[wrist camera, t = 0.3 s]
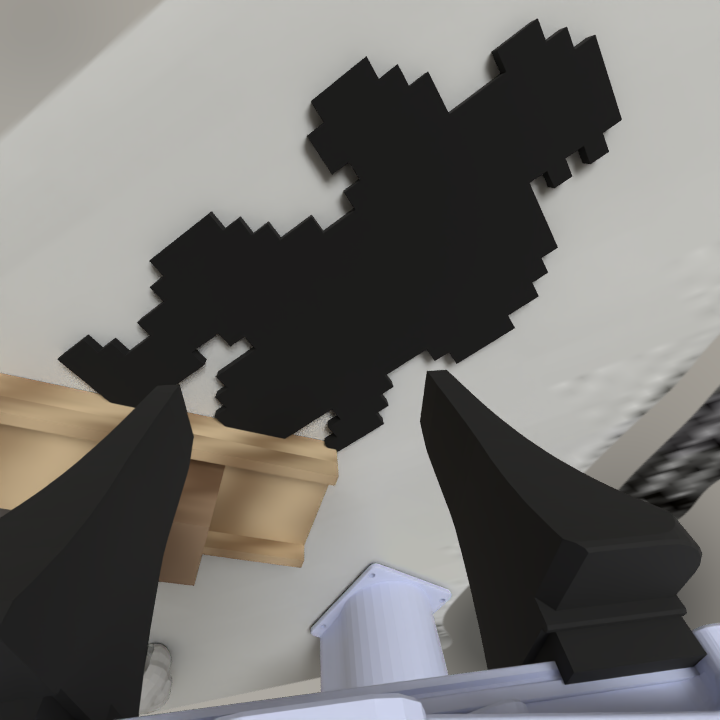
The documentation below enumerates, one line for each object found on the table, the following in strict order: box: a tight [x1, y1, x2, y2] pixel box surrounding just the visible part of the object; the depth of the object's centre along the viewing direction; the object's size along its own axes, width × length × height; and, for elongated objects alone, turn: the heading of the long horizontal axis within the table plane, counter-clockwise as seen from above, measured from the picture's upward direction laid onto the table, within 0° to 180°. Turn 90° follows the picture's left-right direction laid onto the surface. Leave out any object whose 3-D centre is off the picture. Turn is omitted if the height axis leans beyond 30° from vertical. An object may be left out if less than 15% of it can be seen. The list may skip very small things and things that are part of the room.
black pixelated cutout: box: [58, 19, 622, 452], centre depth 23 cm, size 16×1×30 cm
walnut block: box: [159, 459, 225, 586], centre depth 23 cm, size 4×4×4 cm
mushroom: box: [139, 644, 172, 714], centre depth 33 cm, size 7×5×12 cm
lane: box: [0, 373, 338, 568], centre depth 26 cm, size 22×13×4 cm, turn 71°
